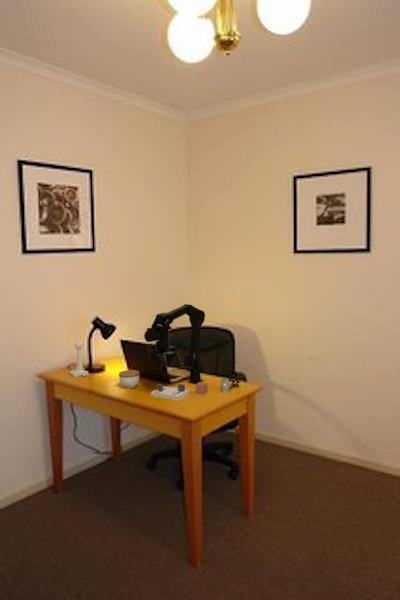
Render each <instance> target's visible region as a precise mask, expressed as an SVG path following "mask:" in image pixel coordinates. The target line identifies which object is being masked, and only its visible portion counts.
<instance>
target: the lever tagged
mask: <svg viewBox="0 0 400 600" xmlns="http://www.w3.org/2000/svg"><path fill="white" fill-rule="evenodd" d="M155 386H156V387H155V388H156V389H155V390H159V391H163V386H164V384H161V383H157V384H156V385H155Z"/></svg>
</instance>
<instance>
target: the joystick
mask: <svg viewBox="0 0 400 600" xmlns="http://www.w3.org/2000/svg"><path fill="white" fill-rule="evenodd" d="M74 348H75V349H76V369H72V370H70V371H69V373H70V375H72V377H73V378H78V377H80V376H82V377H86V376H87V377H88V376H89V371H88V370H84V369H83V359H82V358H83V357H82V348H83V342H81V341H78V340H77V341H76V342H75V343H74Z"/></svg>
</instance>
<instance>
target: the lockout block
mask: <svg viewBox="0 0 400 600" xmlns="http://www.w3.org/2000/svg"><path fill="white" fill-rule="evenodd" d="M208 392H209V391H208V382H204V381H202V382H199V383H197V384H196V383H195V394H196V395H201V396H202V395H203V396H205V395H206V394H208Z"/></svg>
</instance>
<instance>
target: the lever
mask: <svg viewBox="0 0 400 600" xmlns="http://www.w3.org/2000/svg"><path fill="white" fill-rule="evenodd" d="M185 385H186V384H185V383H178V384H177V388H178V391H185V389H186V386H185Z"/></svg>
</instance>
